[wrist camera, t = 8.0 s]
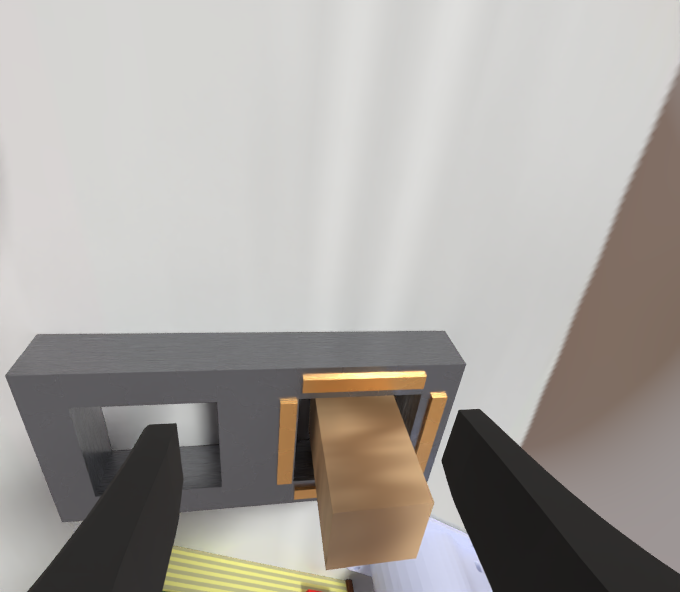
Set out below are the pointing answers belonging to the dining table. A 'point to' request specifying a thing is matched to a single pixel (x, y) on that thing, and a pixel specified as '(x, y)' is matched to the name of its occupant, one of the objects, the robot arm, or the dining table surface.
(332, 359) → the grey slotted holder
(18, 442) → the dining table surface
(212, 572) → the hardcover book
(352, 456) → the wooden block
